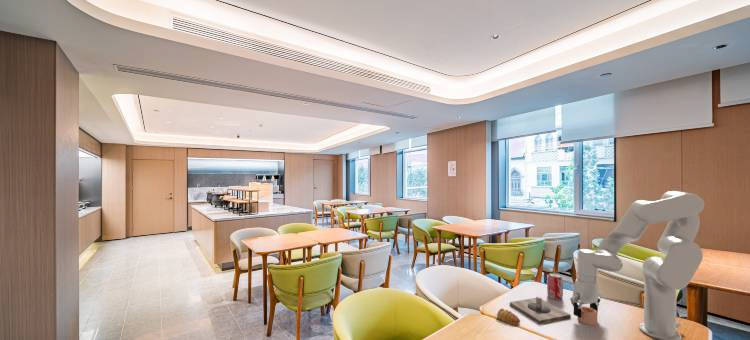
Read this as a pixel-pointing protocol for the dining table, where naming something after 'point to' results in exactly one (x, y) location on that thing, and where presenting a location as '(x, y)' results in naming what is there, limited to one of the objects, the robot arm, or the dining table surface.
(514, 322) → the brown ridged oval piece
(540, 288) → the dining table surface
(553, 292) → the soda can
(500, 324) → the dining table surface
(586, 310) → the ring
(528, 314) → the post stand
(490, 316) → the dining table surface
